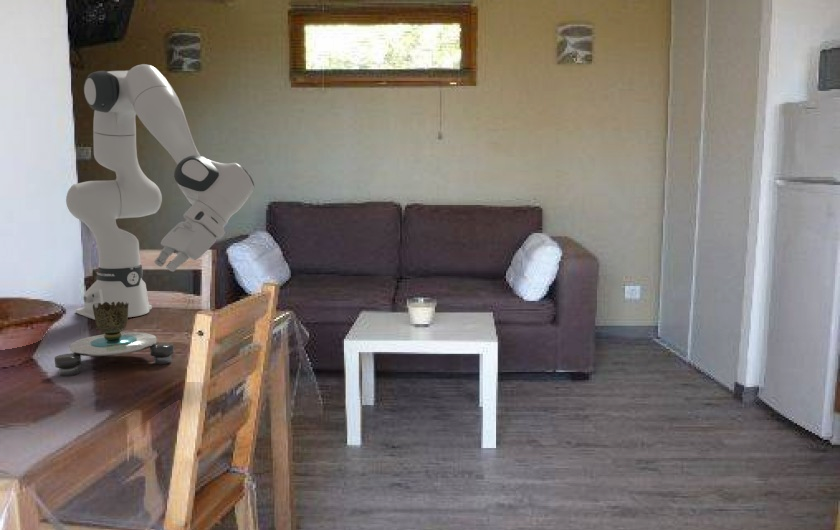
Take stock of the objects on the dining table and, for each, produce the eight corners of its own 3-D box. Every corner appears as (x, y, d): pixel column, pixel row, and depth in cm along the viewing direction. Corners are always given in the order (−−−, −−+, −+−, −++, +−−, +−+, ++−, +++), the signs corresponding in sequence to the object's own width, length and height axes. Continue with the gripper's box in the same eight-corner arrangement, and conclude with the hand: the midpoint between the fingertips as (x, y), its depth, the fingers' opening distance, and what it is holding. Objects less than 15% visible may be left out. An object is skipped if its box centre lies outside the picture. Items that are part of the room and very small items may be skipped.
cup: (118, 343, 163) (115, 308, 162) (88, 342, 164) (85, 307, 163) (137, 335, 170) (134, 301, 169) (108, 334, 171) (105, 300, 170)
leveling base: (27, 368, 162) (25, 343, 161) (119, 345, 181) (117, 323, 180) (91, 386, 149) (88, 359, 148) (183, 360, 167) (181, 336, 166)
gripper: (179, 210, 181) (140, 253, 177) (207, 215, 164) (165, 263, 160) (198, 227, 184) (160, 270, 180) (227, 234, 168) (187, 281, 164)
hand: (163, 267), depth 170 cm, fingers open, 8 cm apart
